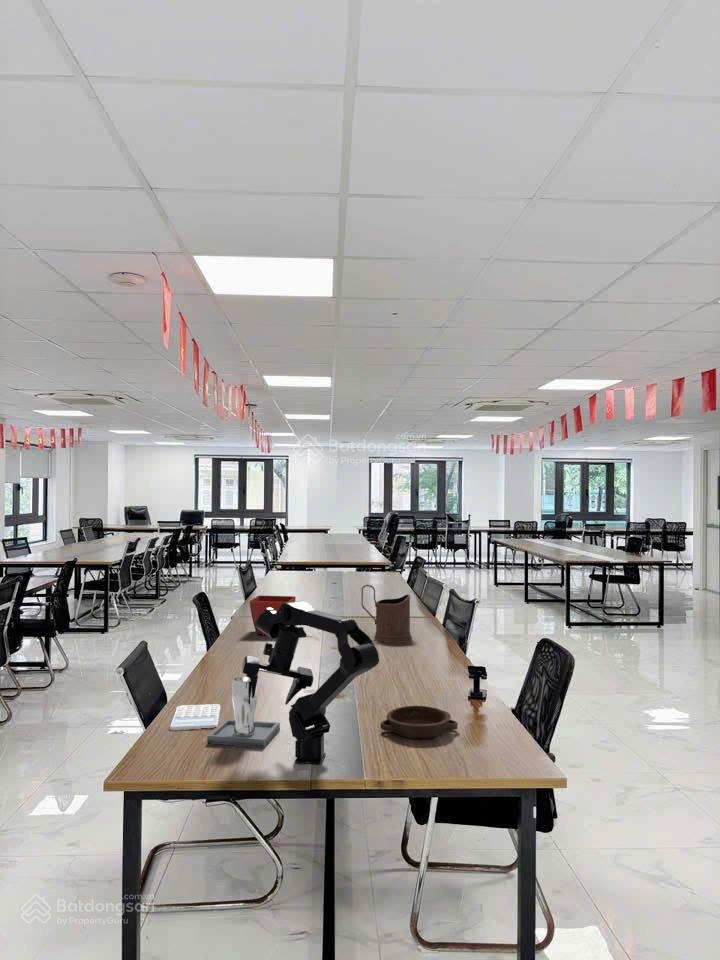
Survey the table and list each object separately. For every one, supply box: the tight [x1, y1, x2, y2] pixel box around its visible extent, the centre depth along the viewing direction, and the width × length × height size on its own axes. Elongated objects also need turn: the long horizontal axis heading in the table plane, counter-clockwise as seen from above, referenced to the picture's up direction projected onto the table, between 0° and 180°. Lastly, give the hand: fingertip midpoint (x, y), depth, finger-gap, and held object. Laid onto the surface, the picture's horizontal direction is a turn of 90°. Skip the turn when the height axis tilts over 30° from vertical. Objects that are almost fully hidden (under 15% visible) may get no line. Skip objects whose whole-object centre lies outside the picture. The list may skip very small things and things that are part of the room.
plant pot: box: [249, 595, 297, 636], centre depth 334 cm, size 19×19×17 cm
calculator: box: [169, 703, 221, 731], centre depth 207 cm, size 13×20×2 cm, turn 9°
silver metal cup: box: [231, 674, 258, 737], centre depth 191 cm, size 7×7×15 cm
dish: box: [379, 705, 459, 740], centre depth 196 cm, size 18×22×5 cm
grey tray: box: [206, 718, 281, 749], centre depth 191 cm, size 16×14×2 cm
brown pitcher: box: [361, 584, 413, 643], centre depth 323 cm, size 18×24×25 cm
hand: (269, 700), depth 184 cm, fingers open, 9 cm apart
